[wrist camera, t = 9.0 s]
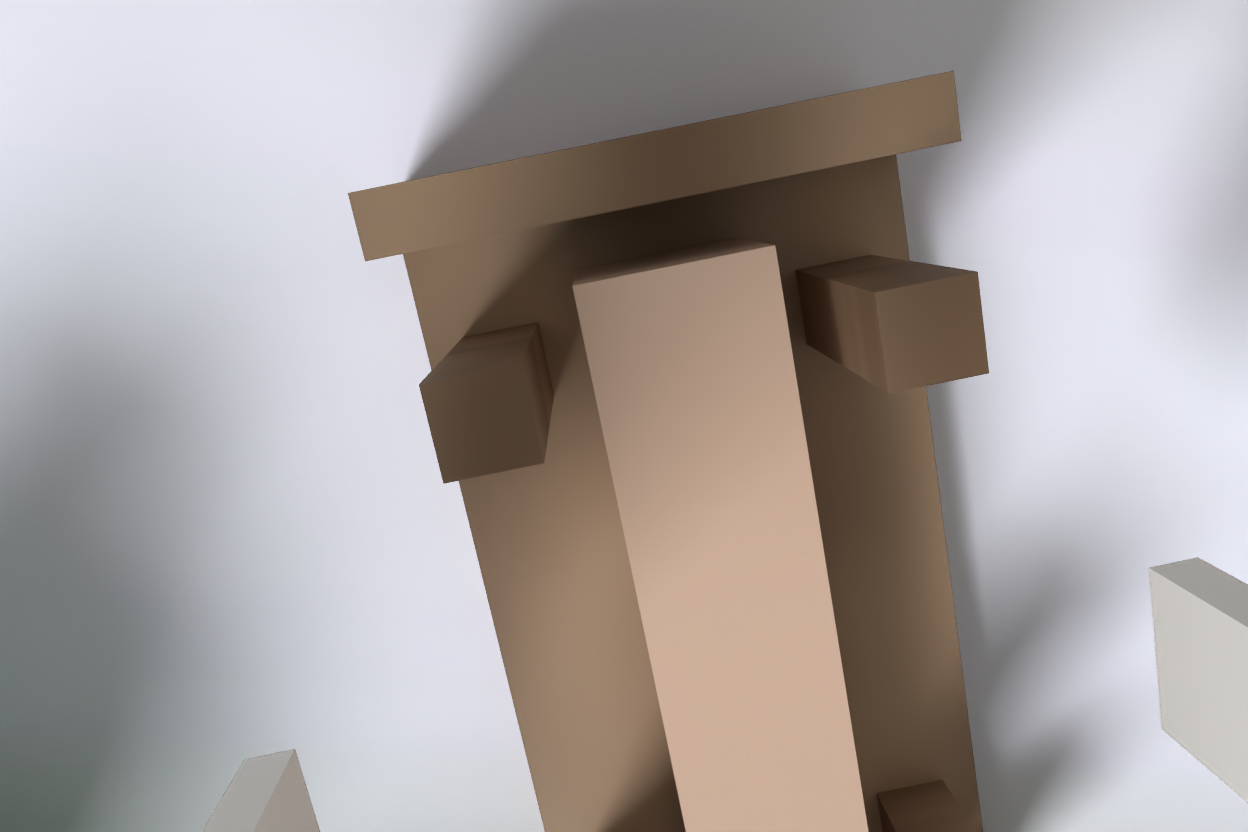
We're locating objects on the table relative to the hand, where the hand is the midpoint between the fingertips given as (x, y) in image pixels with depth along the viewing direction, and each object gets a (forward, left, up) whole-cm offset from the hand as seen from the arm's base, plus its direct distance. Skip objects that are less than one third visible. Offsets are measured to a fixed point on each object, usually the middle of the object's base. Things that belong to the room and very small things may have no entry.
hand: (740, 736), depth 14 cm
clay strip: (0, 0, -4) cm, 5 cm away
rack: (0, 0, -6) cm, 6 cm away
